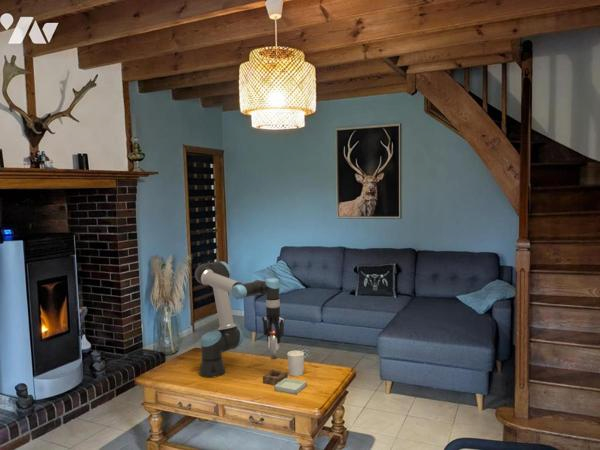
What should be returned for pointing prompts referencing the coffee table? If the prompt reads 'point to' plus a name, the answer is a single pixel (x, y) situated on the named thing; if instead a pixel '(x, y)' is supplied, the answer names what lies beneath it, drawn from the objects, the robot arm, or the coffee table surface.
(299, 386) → the tray
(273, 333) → the pin
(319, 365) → the coffee table surface
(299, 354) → the candle holder
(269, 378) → the socket block
